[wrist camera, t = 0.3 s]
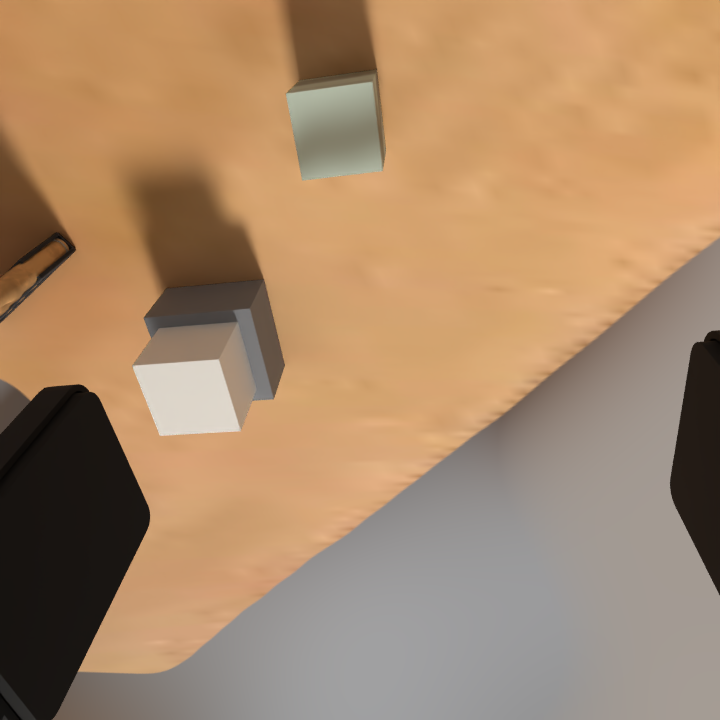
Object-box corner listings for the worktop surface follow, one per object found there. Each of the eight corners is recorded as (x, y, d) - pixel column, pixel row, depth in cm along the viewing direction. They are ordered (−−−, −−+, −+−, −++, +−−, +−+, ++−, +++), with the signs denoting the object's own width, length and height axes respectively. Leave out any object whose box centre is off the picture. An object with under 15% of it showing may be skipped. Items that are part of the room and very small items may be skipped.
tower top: (158, 328, 44) (132, 365, 40) (237, 321, 43) (218, 359, 39) (182, 394, 47) (159, 435, 43) (256, 389, 46) (240, 431, 42)
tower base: (167, 287, 48) (143, 317, 44) (264, 278, 47) (249, 308, 42) (195, 370, 52) (176, 405, 48) (285, 363, 51) (273, 399, 47)
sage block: (299, 80, 39) (285, 93, 34) (376, 69, 38) (372, 81, 34) (313, 158, 41) (302, 180, 37) (385, 150, 41) (382, 170, 36)
